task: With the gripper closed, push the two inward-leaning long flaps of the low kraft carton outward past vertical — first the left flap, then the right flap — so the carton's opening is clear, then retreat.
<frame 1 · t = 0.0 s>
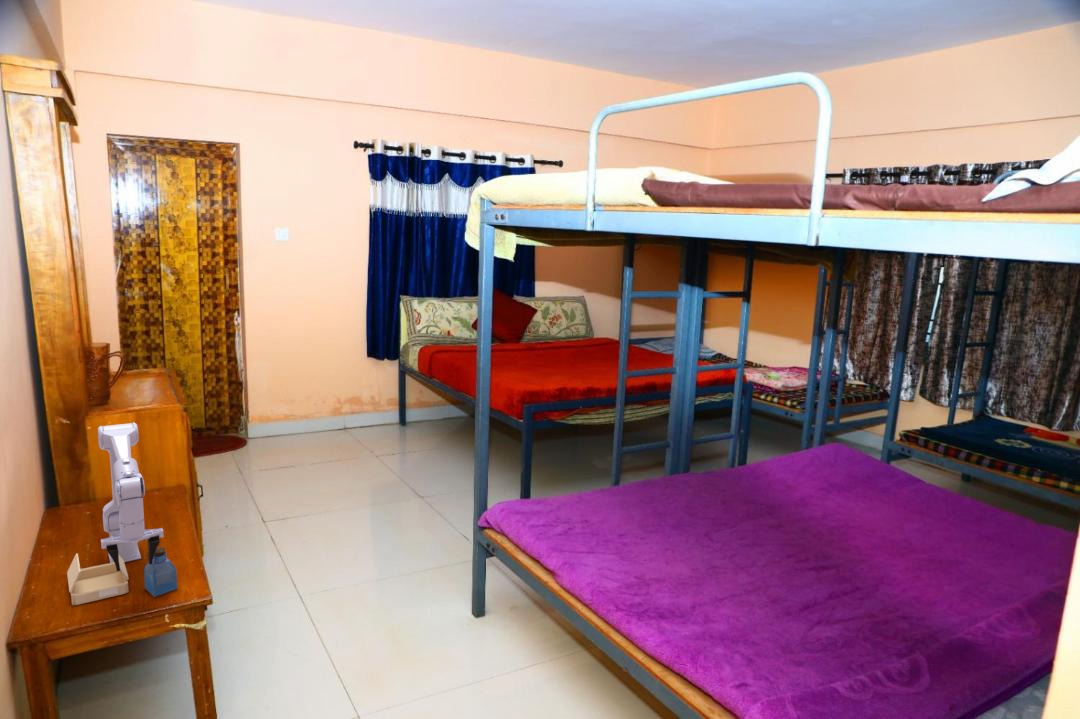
hand: (134, 566, 190), 10 cm above the table, fingers open, 7 cm apart
flap 2: (120, 562, 198), point 6 cm above the table, hinge at -25.0°
carton: (98, 587, 196), on the table
perfume bottle: (161, 589, 198), on the table
flap 1: (73, 572, 192), point 6 cm above the table, hinge at -25.0°
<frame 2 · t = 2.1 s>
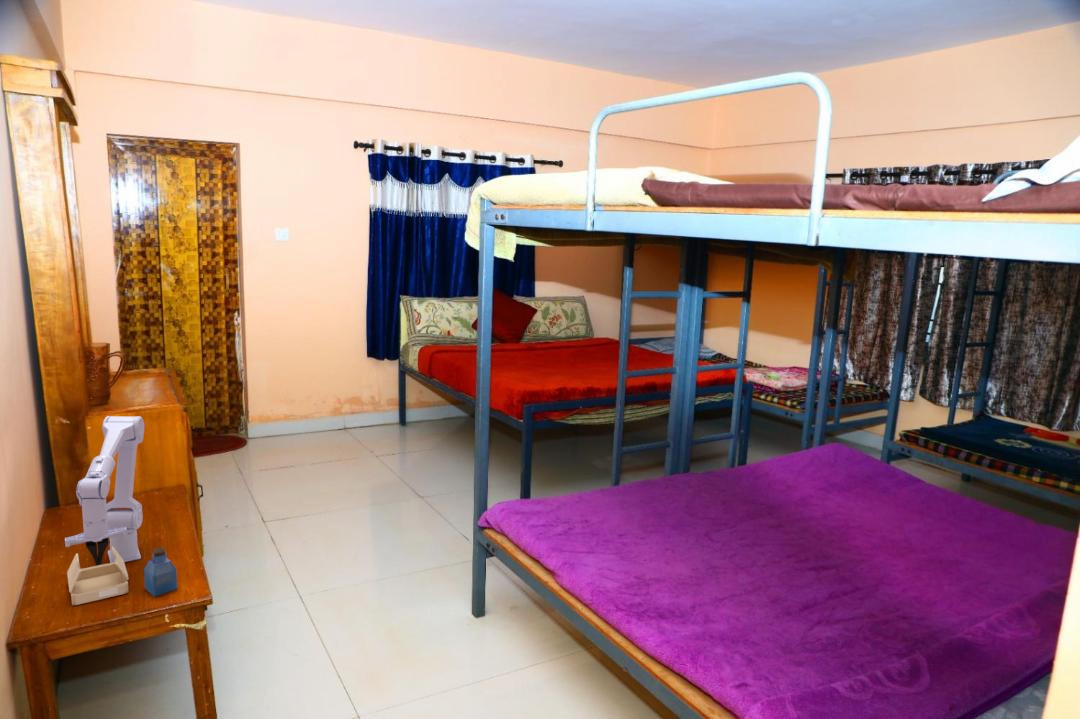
hand: (98, 563, 195), 7 cm above the table, fingers closed
nothing on the table moved.
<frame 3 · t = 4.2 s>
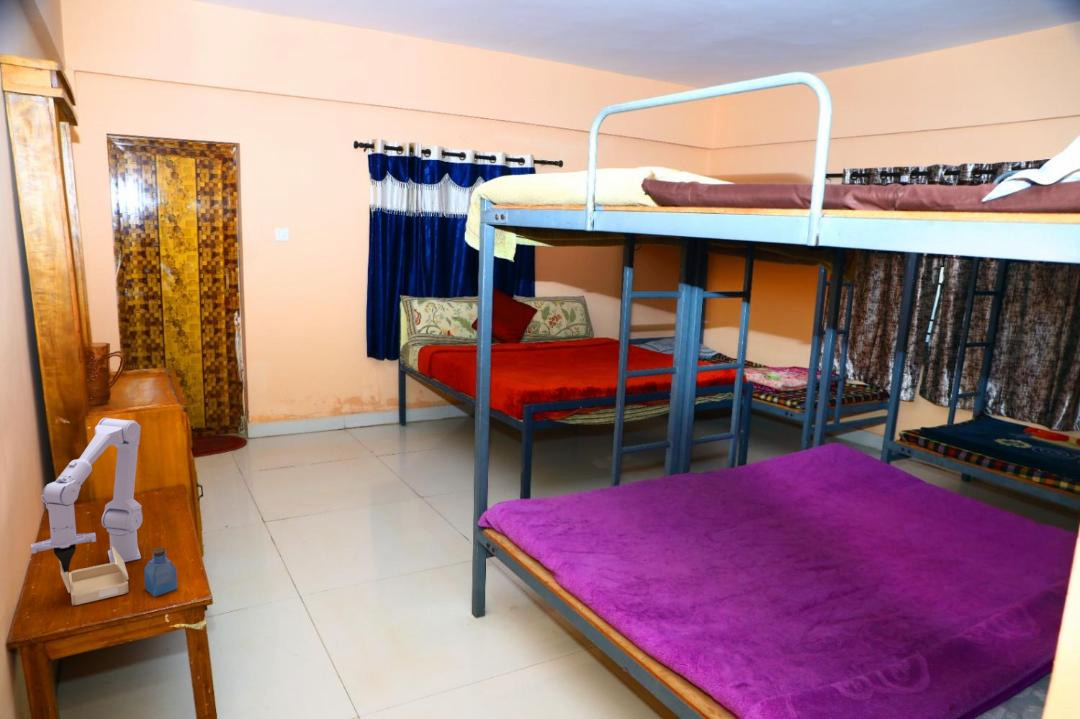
hand: (66, 570, 191), 7 cm above the table, fingers closed, pressing on flap 1
flap 1: (64, 573, 191), point 6 cm above the table, hinge at 13.1°, touching gripper
everything else where it was.
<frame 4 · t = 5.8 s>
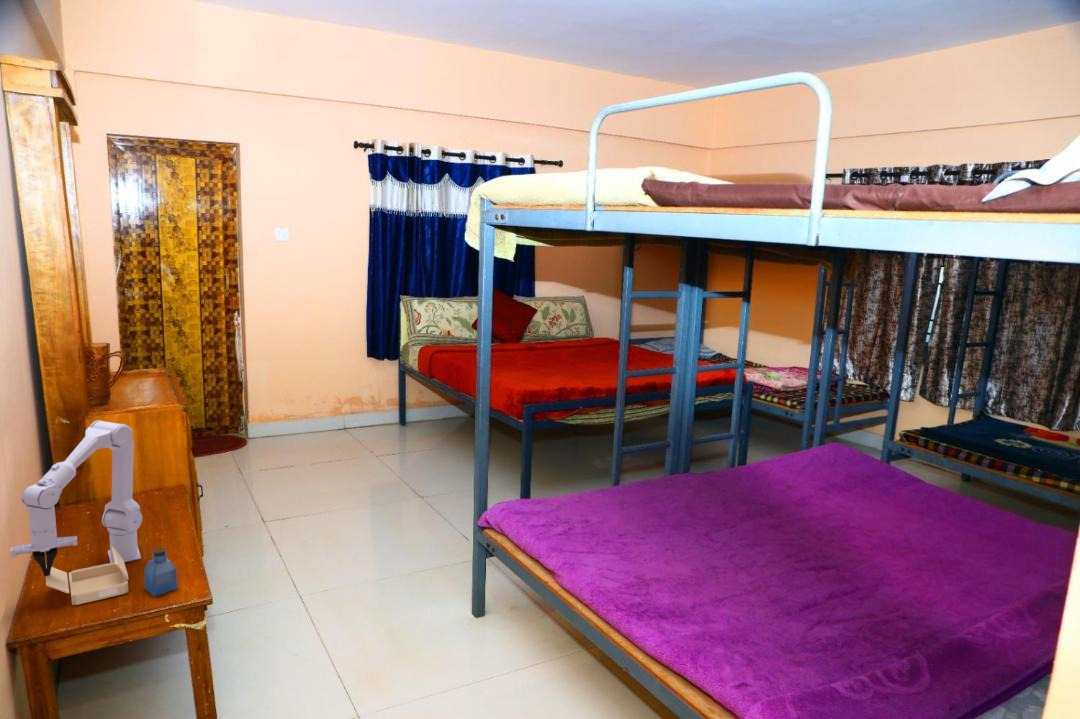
hand: (47, 574, 188), 7 cm above the table, fingers closed
flap 1: (56, 578, 190), point 5 cm above the table, hinge at 51.2°, touching gripper
everything else where it was.
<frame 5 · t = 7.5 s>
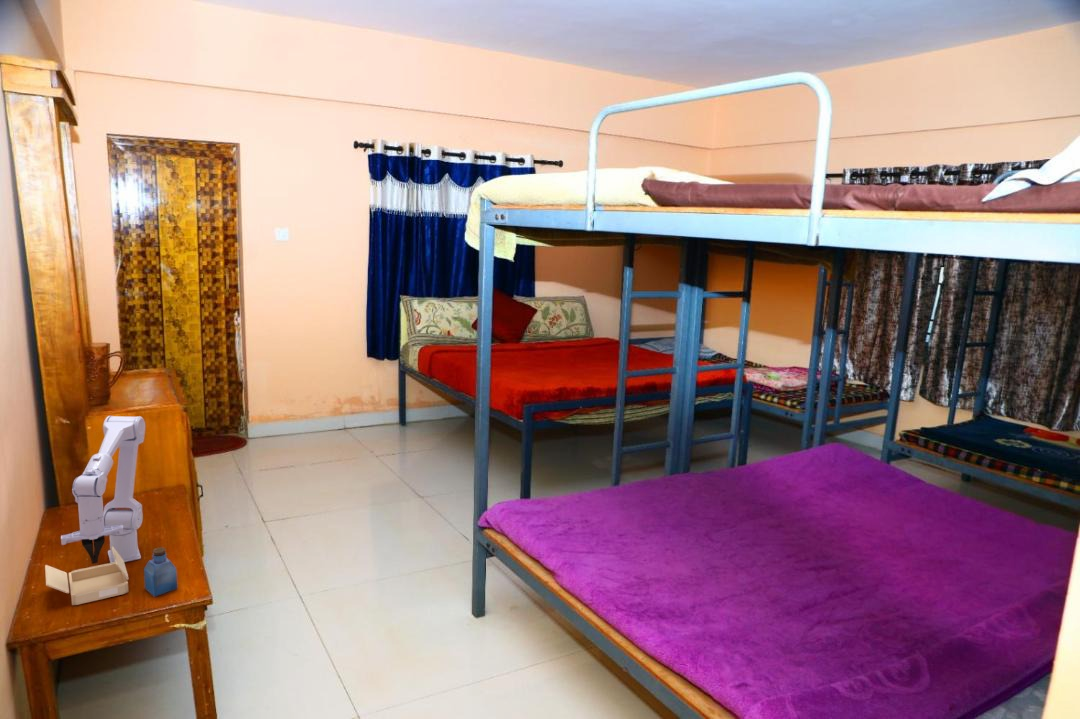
hand: (94, 561, 194), 8 cm above the table, fingers closed
flap 1: (56, 578, 190), point 5 cm above the table, hinge at 51.3°
everything else where it was.
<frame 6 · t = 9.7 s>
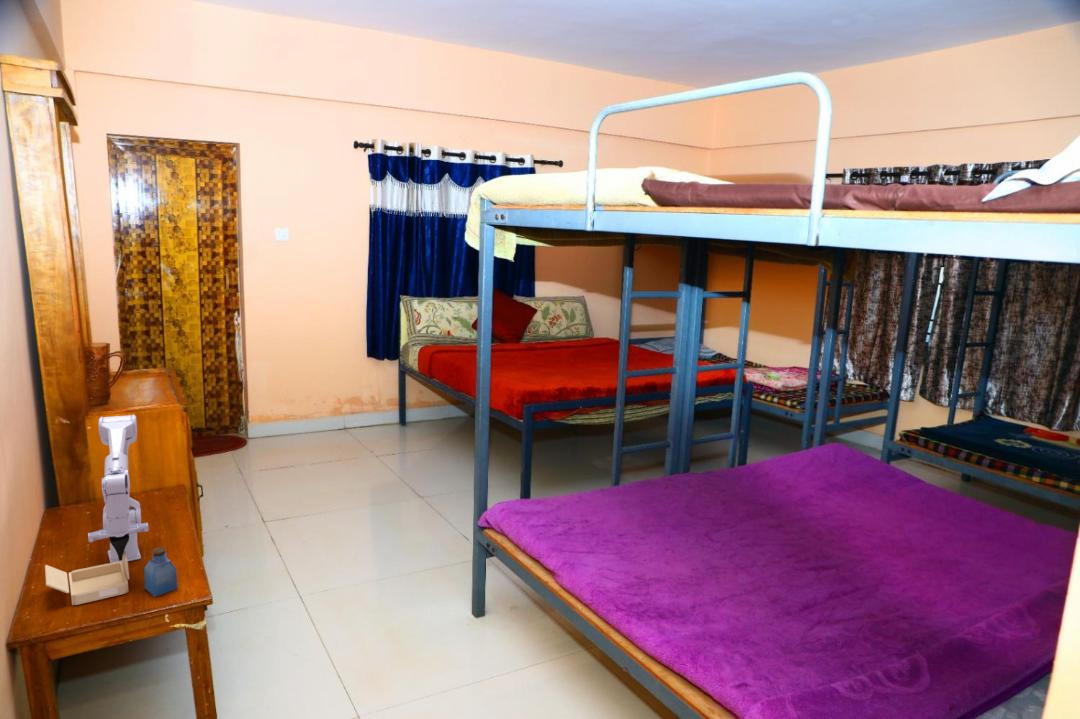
hand: (120, 559, 198), 7 cm above the table, fingers closed, pressing on flap 2
flap 2: (125, 560, 199), point 6 cm above the table, hinge at -1.5°, touching gripper
everything else where it was.
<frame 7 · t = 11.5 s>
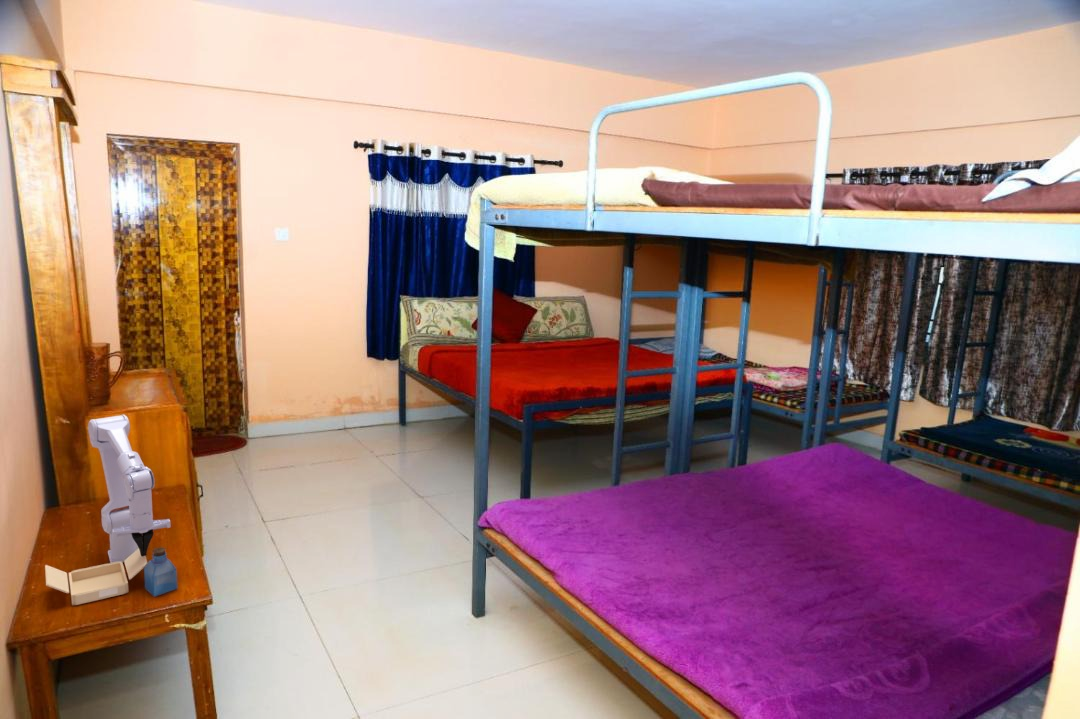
hand: (143, 554, 202), 7 cm above the table, fingers closed
flap 2: (135, 562, 201), point 5 cm above the table, hinge at 51.3°, touching gripper
everything else where it was.
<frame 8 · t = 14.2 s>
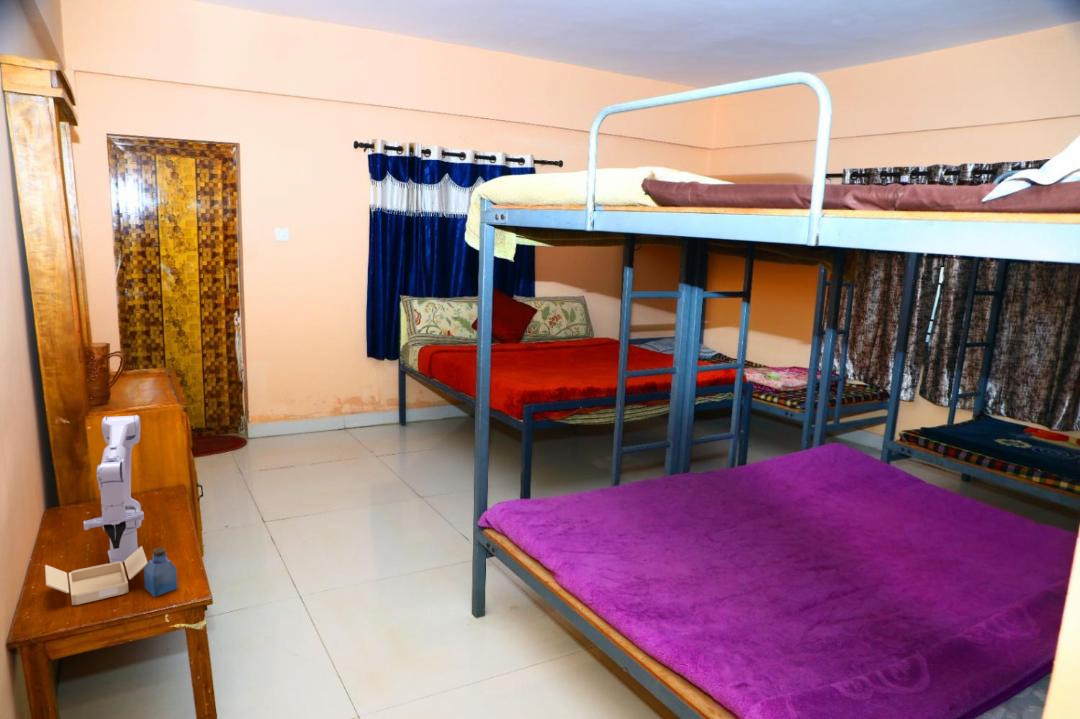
hand: (116, 547, 198), 10 cm above the table, fingers closed
flap 2: (135, 562, 201), point 5 cm above the table, hinge at 51.3°
everything else where it was.
at the end: flap 1 at +51° (first picture: -25°); flap 2 at +51° (first picture: -25°) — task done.
